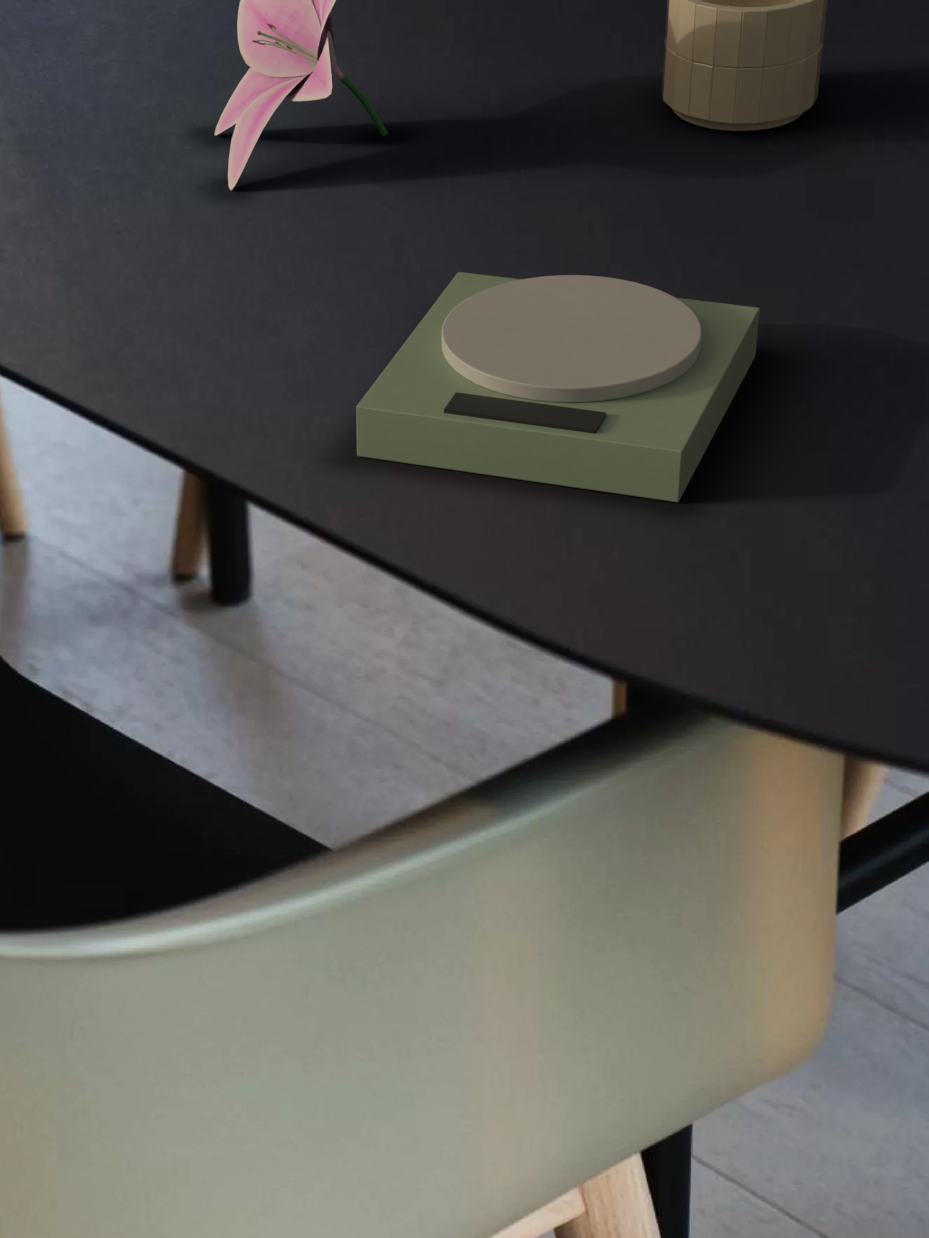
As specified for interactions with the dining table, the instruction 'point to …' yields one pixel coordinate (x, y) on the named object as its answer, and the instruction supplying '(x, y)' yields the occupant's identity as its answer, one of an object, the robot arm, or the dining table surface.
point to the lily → (280, 68)
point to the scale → (561, 383)
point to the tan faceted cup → (742, 61)
